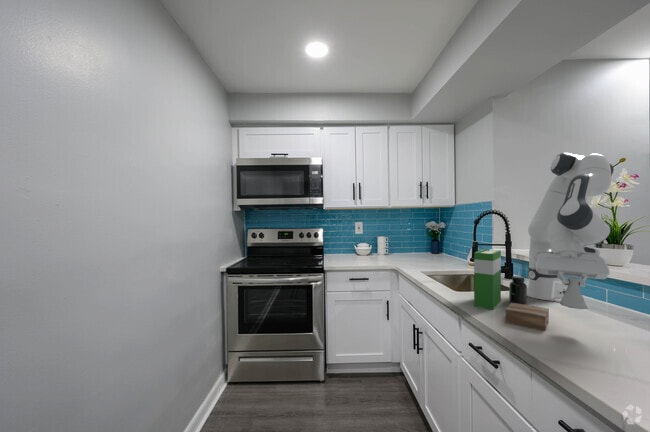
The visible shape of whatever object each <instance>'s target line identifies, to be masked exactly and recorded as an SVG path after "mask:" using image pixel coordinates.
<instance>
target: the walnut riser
mask: <svg viewBox="0 0 650 432" xmlns="http://www.w3.org/2000/svg"><path fill="white" fill-rule="evenodd" d="M549 310H550V309H549V308H546V307H542V306H541V307H540V306H534V305H530V304H529V305H528V304H518V303H511V302H510V303H509V305H508V306H507V307H506V308H505V323H506V324H507V323H508V324H512V325H515V326H521V327H524V328H525V327H526V328H529V329H535V330H539V331H543V332H544V331H546V330H547V327H548V325H549V321H550V319H549V318H550V317H549V316H550V315H549V312H550V311H549Z"/></svg>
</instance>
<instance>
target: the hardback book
mask: <svg viewBox="0 0 650 432" xmlns="http://www.w3.org/2000/svg"><path fill="white" fill-rule="evenodd" d="M473 255H474V256H473V257H474V259H473V261H474V263H473V264H474V268H473V269H474V272H473V273H474V274H473V275H474V277H473V278H474V279H473V280H474V284H473V287H474V288H473V296H474V298H473V304H474V305H473V306H474V307H477V308H482V309H487V310H493V311H494V309H495V308H496V307H497V306H498V305H499V303H500V302H501V300H502V298H501V294H502V293H501V292H502V289H501V287H502V286H501V285H502V282H501V281H502V272H501V270H502V268H501V267H502V250H496V251H493V250H492V251H487V250H486V249H481V250H477V251H475V252H474V254H473Z"/></svg>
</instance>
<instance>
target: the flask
mask: <svg viewBox="0 0 650 432" xmlns="http://www.w3.org/2000/svg"><path fill="white" fill-rule="evenodd" d="M567 279H569V285H568V287H567V290H566V292H565V294H564V296H563V297H562V299H561V301H560V302H559V305H561V306H562V307H565V308H566V307H567V308H569V309H576V310H588V309H589V308H588V306H587V303H586V301H585V299H584V296H583V294H582V291H581V287H579V281H580V280H581V278H580V277H573V276H567Z"/></svg>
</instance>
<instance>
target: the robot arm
mask: <svg viewBox="0 0 650 432" xmlns="http://www.w3.org/2000/svg"><path fill="white" fill-rule="evenodd" d="M614 170H615V169H614V165H613V164H611V163H610V161H609V159H608V158H607V156H605V155H603V154H600V153H591V154H587V155H579V154H573V153H570V152H561V153H560V154H558V155H556V156H555V157H554V158H553V160H552V162H551V165H550V172H551V174H554V175H555V177H554V178H553V179H552V181H551V182H550V184H549V186H548V188H547V191H546V192H545V194H544V195H543V196H544V197H543V198H542V200H541V203H540V204H539V207H538V208H537V210H536V212H535V214H534V216H533V217H532V220H531V221H530V223H529V226H528V228H527V229H528V230H527V232H528V235H529V237H530V239H529V251H528V252H529V253H528V254H529V255H528V256H529V258H528V259H529V261H528V263H529V264H528V269H527V274H528V275H527V276H528V279H527V280H528V281H527V297H529V298H533V299H538V300H542V301H543V300H544V301H550V302H557V303H560V301H561V299H562V297H563V296H564V294H565V292H566V290H567V287H568V285H569V279H568V278H566V277H575V278H580V281H579V287H580V288H585V287H586V280H587V279H596V280H607V278H608V277H609V275H610V274H611V273H610V271H611V270H610V268H609V266H608V263H607V262H606V260H605V259H604V258H603V257H602V256H600V250H599V249H597V248H594V247H589V246H590V245H594V244H595V245H596V244H599V243H603V242H604V241H605V240H606V239H608V237H609V236H610V235H611V226H610V225H609V224H608V223H607V222H606V221H605V220H603V218H601V217H600V216H599V214H597V213H596V212H595V211H594V209H592V208H591V206H590V205H589V204H588V202H587V199H588V197H596V196H600V195H602V194H605V193H606V192H607V191H608V190H609V189H610V188H611V187H610V186H611V185H612V184H611V182H612V176H613V174H614Z"/></svg>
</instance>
